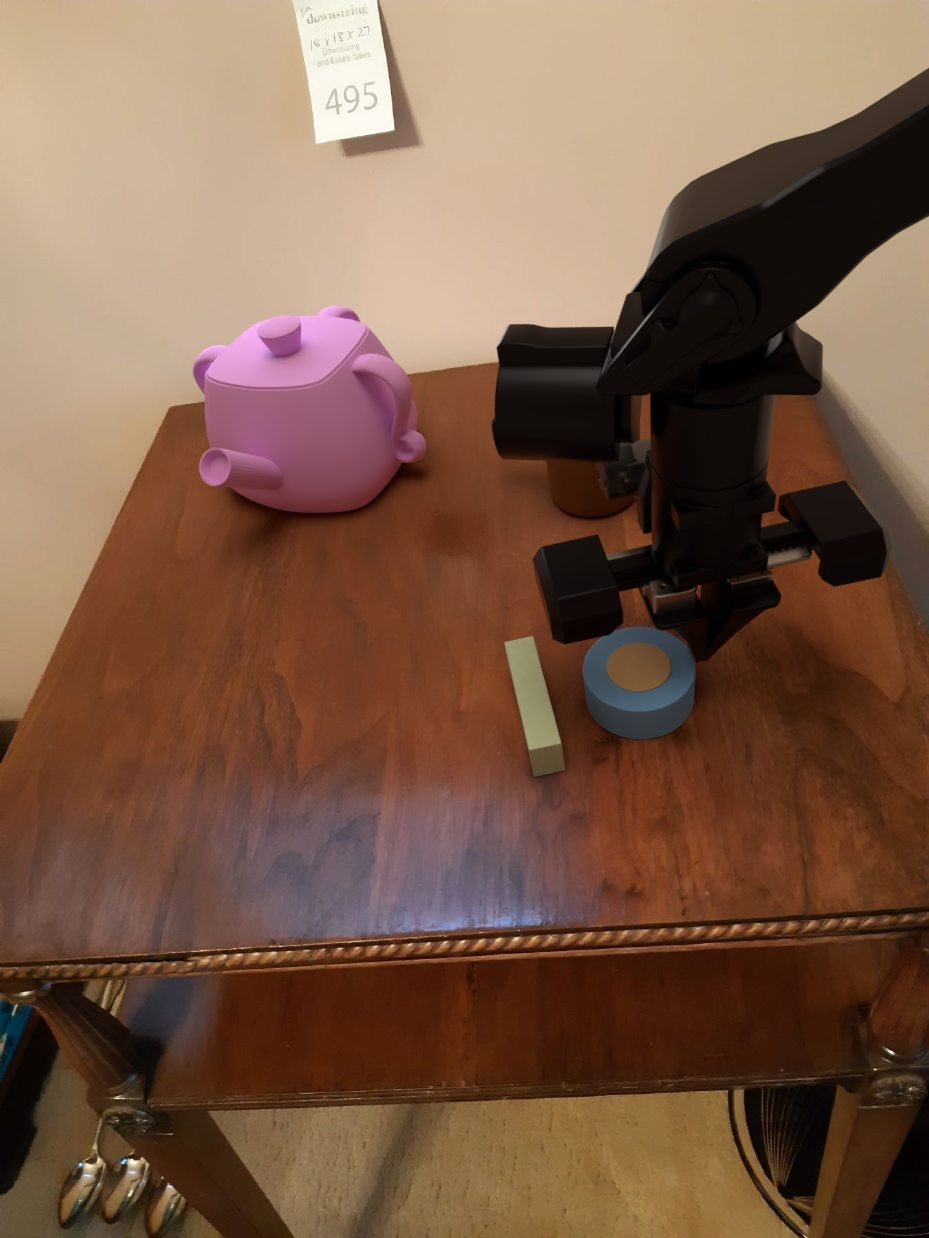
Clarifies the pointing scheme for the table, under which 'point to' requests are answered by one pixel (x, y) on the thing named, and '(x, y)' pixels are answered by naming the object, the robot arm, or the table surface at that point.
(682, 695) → the tape roll
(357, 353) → the teapot
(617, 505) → the mug
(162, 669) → the table surface
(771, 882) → the table surface
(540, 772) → the stop block
